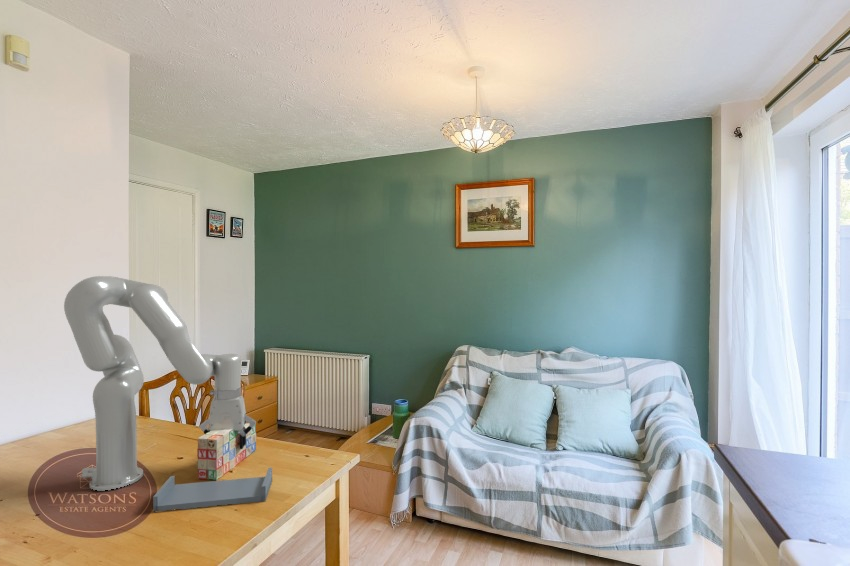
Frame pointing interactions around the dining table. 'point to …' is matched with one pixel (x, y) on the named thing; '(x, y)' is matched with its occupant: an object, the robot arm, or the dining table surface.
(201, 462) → the stack of blocks
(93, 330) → the robot arm
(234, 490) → the board
